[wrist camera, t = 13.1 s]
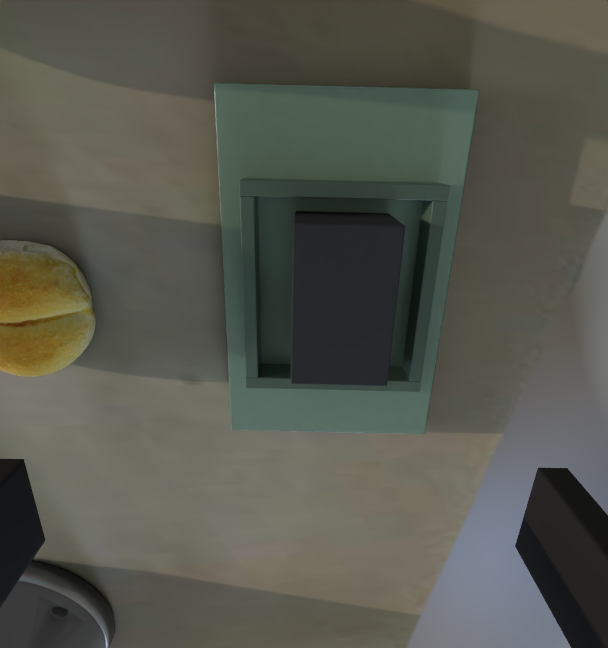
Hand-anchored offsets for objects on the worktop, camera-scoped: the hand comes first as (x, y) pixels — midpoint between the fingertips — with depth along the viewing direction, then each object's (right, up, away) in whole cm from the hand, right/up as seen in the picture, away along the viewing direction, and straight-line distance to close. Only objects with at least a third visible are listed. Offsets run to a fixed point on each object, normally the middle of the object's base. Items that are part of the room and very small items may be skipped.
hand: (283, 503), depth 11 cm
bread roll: (-17, +6, +18) cm, 25 cm away
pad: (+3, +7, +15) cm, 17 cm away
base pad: (+3, +8, +17) cm, 18 cm away
